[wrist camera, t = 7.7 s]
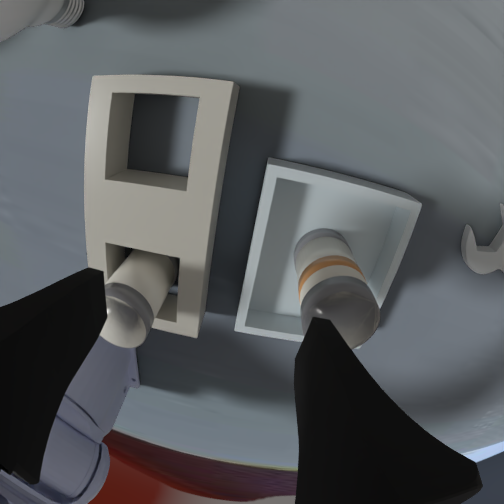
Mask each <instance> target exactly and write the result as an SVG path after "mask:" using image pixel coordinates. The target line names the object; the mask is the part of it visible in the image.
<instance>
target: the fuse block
mask: <svg viewBox="0 0 504 504" xmlns="http://www.w3.org/2000/svg"><path fill="white" fill-rule="evenodd" d="M239 89H240V87H239V86H238V85H237V84H236V83H234V82H232V81H224V80H215V79H206V78H195V77H182V76H165V75H102V76H93V78H92V84H91V92H90V99H89V108H88V118H87V129H86V144H85V168H84V206H85V231H86V246H87V258H88V268H89V267H90V268H94V269H97V270H101V271H104V283H106V282H107V281H108V280H109V278H110V277H111V276H112V275H113V274H114V272H115V271H116V270H117V269H118V268H119V267H120V265H121V264H122V263H123V262H124V261H125V247H129V248H134V249H139V250H144V251H149V252H153V253H158V254H163V255H168V256H173V257H178V258H180V267H179V282H178V296H177V295H172V294H167V296H166V298H165V300H164V302H163V304H162V306H161V308H160V310H159V312H158V314H157V316H156V318H155V320H154V322H153V325H152V328H155V329H159V330H163V331H167V332H172V333H176V334H180V335H185V336H189V337H194V338H197V337H198V334H199V331H200V327H201V324H202V321H203V318H204V314H205V309H206V301H207V293H208V285H209V277H210V269H211V262H212V254H213V247H214V240H215V233H216V226H217V219H218V212H219V205H220V199H221V192H222V186H223V180H224V174H225V168H226V161H227V156H228V150H229V144H230V138H231V132H232V127H233V121H234V116H235V110H236V105H237V100H238V94H239ZM135 94H152V95H169V96H182V97H192V98H200V100H199V106H198V112H197V118H196V125H195V131H194V138H193V145H192V152H191V159H190V167H189V174H188V177H183V176H176V175H169V174H162V173H155V172H148V171H140V170H132V169H127V163H128V150H129V139H130V130H131V121H132V113H133V105H134V98H135Z"/></svg>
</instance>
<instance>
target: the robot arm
mask: <svg viewBox="0 0 504 504" xmlns="http://www.w3.org/2000/svg"><path fill="white" fill-rule="evenodd" d="M107 317H108V315H107V305H106V295H105V283H104V271H101V270H97V269H94V268H90V267H89V268H86V269H84V270H81V271H79V272H77V273H75V274H72V275H70V276H68V277H66V278H64V279H62V280H60V281H58V282H56V283H54V284H52V285H50V286H48V287H46V288H44V289H42V290H39V291H37V292H35V293H33V294H31V295H28V296H26V297H24V298H22V299H20V300H18V301H15V302H13V303H10V304H8V305H5V306H2V307H0V504H87V503H88V502H89V501H90V500H92V499H93V498H94V497H95V496H96V495H97V494H98V492H99V491H100V489H101V487H102V486H103V484H104V482H105V479H106V477H107V474H108V470H109V465H110V457H109V453H108V448H107V446H106V445H105V444H104V443H102V442H101V441H102V439H103V436H105V435H106V434H108V433H109V432H110V430H111V429H112V427H113V425H114V423H115V421H116V418H117V416H118V413H119V411H120V409H121V406H122V404H123V402H124V399H125V397H126V395H127V392H128V390H129V388H130V387H133V388H139V387H140V380H139V373H138V365H137V357H136V348H121V347H118V346H115V345H113V344H111V343H109V342H107V341H106V340H105V339H103V338H102V337H101V336H100V333H101V331H102V329H103V326H104V324H105V322H106V320H107ZM294 390H295V402H296V413H297V425H298V436H299V461H298V478H297V489H296V500H295V504H461V503H462V502H464V501H466V500H467V499H469V498H471V497H472V496H474V495H475V494H476V493H478V492H479V491H480V490H481V488H482V487H483V485H482V481H481V478H480V475H479V471H478V468H477V465H476V463H475V462H474V461H472V460H470V459H469V458H467V457H465V456H463V455H461V454H460V453H458V452H456V451H454V450H453V449H451V448H449V447H448V446H446V445H445V444H443V443H442V442H440V441H439V440H438V439H436V438H435V437H433V436H432V435H431V434H429V433H428V432H427V431H425V430H424V429H423V428H422V427H421V426H419V425H418V424H417V423H416V422H415V421H414V420H412V419H411V418H410V417H409V416H408V415H407V414H406V413H405V412H404V411H402V410H401V409H400V408H399V407H398V406H397V405H396V404H395V402H394V401H393V400H392V399H391V398H390V397H389V396H388V395H387V394H386V393H385V392H384V391H383V390H382V389H381V387H380V386H379V385H378V384H377V383H376V381H375V380H374V379H373V378H372V377H371V375H370V374H369V373H368V372H367V370H366V369H365V368H364V366H363V365H362V364H361V362H360V361H359V360H358V358H357V357H356V356H355V354H354V353H353V351H352V350H351V349H350V347H349V346H348V344H347V343H346V341H345V340H344V339H343V337H342V336H341V334H340V333H339V331H338V330H337V329H336V327H335V326H334V324H333V323H332V322H331V320H330V319H324V318H318V317H312V320H311V322H310V325H309V327H308V329H307V332H306V334H305V337H304V339H303V341H302V344H301V346H300V349H299V351H298V353H297V356H296V358H295V371H294Z"/></svg>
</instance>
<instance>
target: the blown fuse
mask: <svg viewBox="0 0 504 504" xmlns="http://www.w3.org/2000/svg"><path fill="white" fill-rule="evenodd" d="M293 256H294V265H295V271H296V274H297V282H298V294H299V302H300V306H301V308H300V315H301V324H302V331H303V335H304V337H305V334H306V332H307V329H308V327H309V325H310V322H311V320H312V317H318V318H324V319H330V320H331V322H332V323H333V324H334V326H335V327H336V329H337V330H338V331H339V333H340V334H341V336H342V337H343V339H344V340H345V341H346V343H347V344H348V346H349V347H350V349H351V350H352V349H354V348H356V347H358V346H360V345H362V344H363V343H365V342H366V341H367V340H368V339H369V338H371V336H372V335H373V334H374V333H375V331H376V330H377V328H378V325H379V322H380V309H379V306H378V304H377V302H376V299H375V297H374V295H373V293H372V291H371V289H370V288H369V286H368V285H367V282H366V279H365V277H364V275H363V273H362V271H361V269H360V268H359V266H358V264H357V262H356V260H355V258H354V257H353V254H352V251H351V249H350V247H349V245H348V243H347V241H346V240H345V238H344V237H343V236H342V235H341V234H340V233H338V232H337V231H334V230H332V229H327V228H320V229H315V230H312V231H310V232H308V233H306V234H305V235H304V236H302V237H301V238H300V239H299V241H298V242H297V244H296V246H295V249H294V255H293Z"/></svg>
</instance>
